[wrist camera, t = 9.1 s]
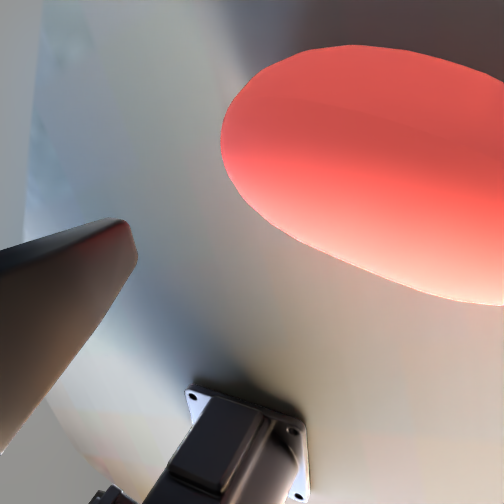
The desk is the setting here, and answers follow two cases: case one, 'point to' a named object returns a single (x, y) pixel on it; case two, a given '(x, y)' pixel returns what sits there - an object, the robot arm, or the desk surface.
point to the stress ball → (379, 164)
